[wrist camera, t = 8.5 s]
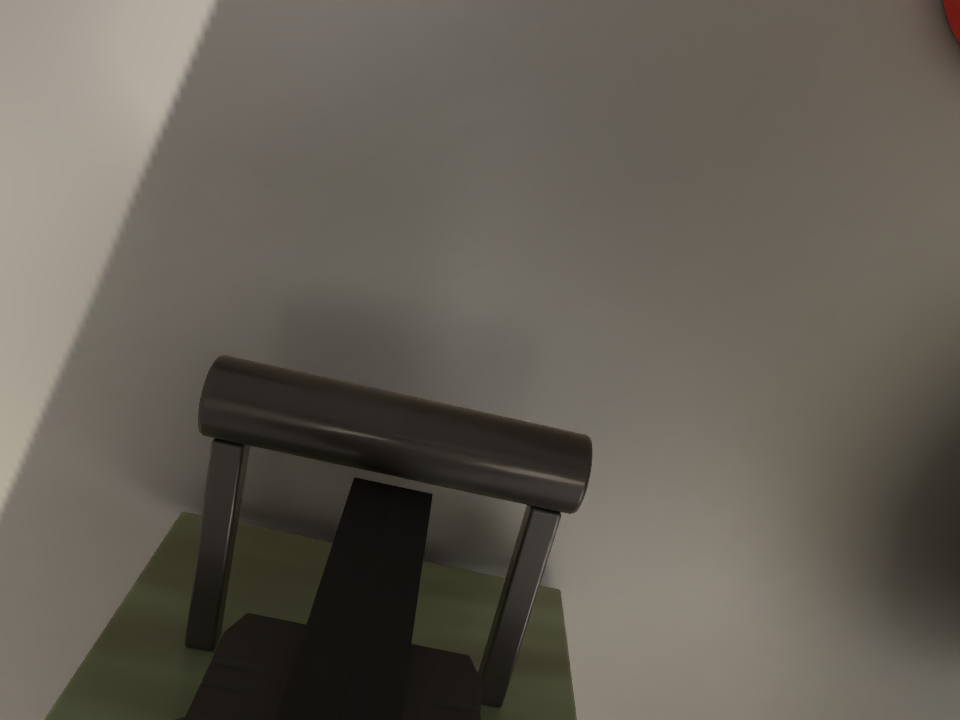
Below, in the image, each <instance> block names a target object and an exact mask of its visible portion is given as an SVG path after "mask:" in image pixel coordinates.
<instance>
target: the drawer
mask: <svg viewBox="0 0 960 720" xmlns="http://www.w3.org/2000/svg"><path fill="white" fill-rule="evenodd" d="M198 429H199V432H200V433H201V434H202V435H204V436H207V437H212V438H214V440H213V441H212V445H211V452H210V459H209V467H208V474H207V482H206V489H205V496H204V504H203V511H202V515H198V514H193V513H188V512H182V513H181V514H180V515H179V517H178V518H177V520H176V521H175V523H174V524H173V526H172V528H171V529H170V531H169V532H168V534H167V535H166V537H165V538H164V540H163V541H162V543H161V544H160V546H159V547H158V549H157V550H156V552H155V553H154V555H153V556H152V558H151V559H150V561H149V562H148V564H147V565H146V567H145V568H144V570H143V571H142V573H141V574H140V576H139V577H138V579H137V580H136V582H135V583H134V585H133V586H132V588H131V589H130V591H129V592H128V594H127V596H126V597H125V599H124V600H123V602H122V603H121V605H120V606H119V608H118V609H117V611H116V612H115V614H114V615H113V617H112V618H111V620H110V621H109V623H108V624H107V626H106V627H105V629H104V630H103V632H102V633H101V635H100V636H99V638H98V639H97V641H96V642H95V644H94V645H93V647H92V648H91V650H90V651H89V653H88V654H87V656H86V657H85V659H84V661H83V662H82V664H81V665H80V667H79V668H78V670H77V671H76V673H75V674H74V676H73V677H72V679H71V680H70V682H69V683H68V685H67V686H66V688H65V689H64V691H63V692H62V694H61V695H60V697H59V698H58V700H57V701H56V703H55V704H54V706H53V707H52V709H51V710H50V712H49V713H48V715H47V716H46V718H45V719H44V720H175V719H179V718H182V717H185V716H186V714H187V712H188V710H189V707H190V705H191V703H192V701H193V699H194V697H195V694H196V692H197V690H198V688H199V686H200V684H201V683H202V680H203V677H204V675H205V673H206V670H207V668H208V666H209V664H210V663H211V661H212V657H213V655H214V653H215V651H216V649H217V646H218V644H219V642H220V640H221V638H222V636H223V633H224V632H225V631H226V630H227V629H228V628H230V627H231V626H232V625H233V624H234V623H236V622H237V621H238V620H239V619H240V618H242V617H243V616H244V615H245V614H247V613H252V614H257V615H261V616H266V617H271V618H276V619H281V620H286V621H291V622H296V623H301V624H307V621H308V618H309V615H310V612H311V609H312V606H313V603H314V599H315V596H316V593H317V590H318V587H319V584H320V581H321V578H322V575H323V572H324V569H325V566H326V563H327V559H328V556H329V553H330V550H331V547H332V544H333V542H328V541H324V540H319V539H314V538H309V537H304V536H299V535H294V534H290V533H285V532H280V531H275V530H270V529H265V528H261V527H256V526H251V525H246V524H241V523H238V520H239V513H240V507H241V500H242V494H243V487H244V481H245V474H246V468H247V461H248V455H249V448H250V446H254V447H259V448H264V449H268V450H273V451H278V452H282V453H287V454H292V455H296V456H301V457H306V458H310V459H315V460H320V461H325V462H329V463H334V464H339V465H343V466H348V467H353V468H357V469H362V470H367V471H371V472H376V473H381V474H385V475H390V476H395V477H400V478H404V479H409V480H414V481H418V482H423V483H428V484H432V485H437V486H442V487H446V488H451V489H456V490H461V491H465V492H470V493H475V494H479V495H484V496H489V497H493V498H498V499H503V500H507V501H512V502H517V503H521V504H526V505H527V507H526V510H525V514H524V517H523V520H522V524H521V527H520V531H519V534H518V538H517V541H516V544H515V548H514V551H513V555H512V558H511V561H510V565H509V568H508V572H507V575H506V578H503V577H498V576H493V575H488V574H483V573H478V572H474V571H469V570H464V569H459V568H454V567H449V566H445V565H440V564H435V563H430V562H425V561H423V565H422V572H421V579H420V586H419V593H418V600H417V607H416V614H415V621H414V628H413V635H412V642H411V644H415V645H420V646H425V647H430V648H435V649H440V650H445V651H450V652H455V653H460V654H465V655H469V656H470V658H471V660H472V662H473V664H474V666H475V668H476V671H477V673H478V675H479V677H480V679H481V681H482V687H481V711H480V714H481V720H577V717H576V709H575V702H574V694H573V686H572V678H571V670H570V662H569V654H568V646H567V638H566V630H565V622H564V615H563V607H562V599H561V591H560V590H559V589H556V588H551V587H546V586H541V585H540V583H541V579H542V576H543V573H544V570H545V567H546V563H547V560H548V557H549V554H550V550H551V547H552V544H553V541H554V538H555V534H556V531H557V528H558V525H559V521H560V518H561V512H564V513H568V514H571V513H575V512H576V511H577V510H578V509H579V507H580V505H581V503H582V501H583V499H584V496H585V493H586V490H587V486H588V482H589V478H590V472H591V466H592V442H591V439H590V437H588V436H587V435H585V434H580V433H575V432H571V431H566V430H562V429H557V428H553V427H548V426H544V425H539V424H535V423H530V422H526V421H521V420H516V419H512V418H507V417H503V416H498V415H494V414H489V413H485V412H480V411H476V410H471V409H467V408H462V407H457V406H453V405H448V404H444V403H439V402H435V401H430V400H426V399H421V398H417V397H412V396H407V395H403V394H398V393H394V392H389V391H385V390H380V389H376V388H371V387H367V386H362V385H358V384H353V383H348V382H344V381H339V380H335V379H330V378H326V377H321V376H317V375H312V374H308V373H303V372H299V371H294V370H289V369H285V368H280V367H276V366H271V365H267V364H262V363H258V362H253V361H249V360H244V359H240V358H235V357H230V356H226V355H223V356H219V357H217V358H216V360H215V361H214V363H213V364H212V366H211V368H210V370H209V372H208V374H207V377H206V379H205V382H204V385H203V389H202V393H201V397H200V402H199V408H198Z"/></svg>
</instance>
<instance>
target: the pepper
mask: <svg viewBox="0 0 960 720" xmlns="http://www.w3.org/2000/svg"><path fill="white" fill-rule="evenodd" d="M943 2H944V7H945V11H946V16H947V19H948V22H949V24H950V27H951V30H952V32H953V33H954V35H955V37H956V39H957V41H958V42H959V44H960V0H943Z"/></svg>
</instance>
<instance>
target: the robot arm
mask: <svg viewBox="0 0 960 720" xmlns="http://www.w3.org/2000/svg"><path fill="white" fill-rule="evenodd" d="M431 501H432V494H430V493H425V492H420V491H416V490H411V489H406V488H402V487H397V486H392V485H388V484H383V483H379V482H374V481H369V480H365V479H360V478H355V477H354V479H353V483H352V486H351V489H350V492H349V495H348V498H347V501H346V504H345V507H344V510H343V513H342V516H341V519H340V523H339V526H338V529H337V532H336V535H335V538H334V541H333V544H332V547H331V550H330V553H329V556H328V559H327V563H326V566H325V569H324V572H323V575H322V578H321V581H320V584H319V587H318V590H317V593H316V596H315V599H314V603H313V606H312V609H311V612H310V615H309V618H308V621H307V624H301V623H296V622H291V621H286V620H281V619H276V618H271V617H266V616H261V615H257V614H252V613H247V614H245V615H244V616H243V617H242V618H240V619H239V620H238V621H237V622H236V623H234V624H233V625H232V626H231V627H230V628H228V629H227V630H226V631H225V632H224V633H223V636H222V638H221V640H220V642H219V644H218V646H217V649H216V651H215V653H214V655H213V657H212V661H211V663H210V664H209V666H208V668H207V670H206V673H205V675H204V677H203V680H202V683H201V684H200V686H199V688H198V690H197V692H196V694H195V697H194V699H193V701H192V703H191V705H190V707H189V710H188V712H187V714H186V716H185V717H182V718H179V719H175V720H481V714H480V711H481V687H482V681H481V679H480V677H479V675H478V673H477V671H476V668H475V666H474V664H473V662H472V660H471V658H470V656H469V655H465V654H460V653H455V652H450V651H445V650H440V649H435V648H430V647H425V646H420V645H415V644H411V642H412V635H413V628H414V621H415V614H416V607H417V600H418V593H419V586H420V579H421V572H422V565H423V558H424V551H425V544H426V537H427V530H428V522H429V515H430V508H431Z"/></svg>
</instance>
